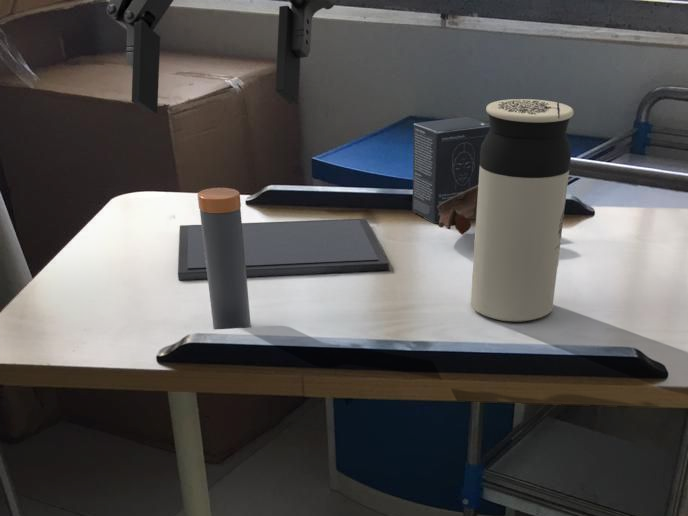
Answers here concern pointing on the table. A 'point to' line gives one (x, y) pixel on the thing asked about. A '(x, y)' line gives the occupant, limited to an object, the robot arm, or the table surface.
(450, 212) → the brown jagged lump
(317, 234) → the tablet
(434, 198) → the box
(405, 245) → the table surface
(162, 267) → the table surface
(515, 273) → the travel mug
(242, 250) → the bottle
